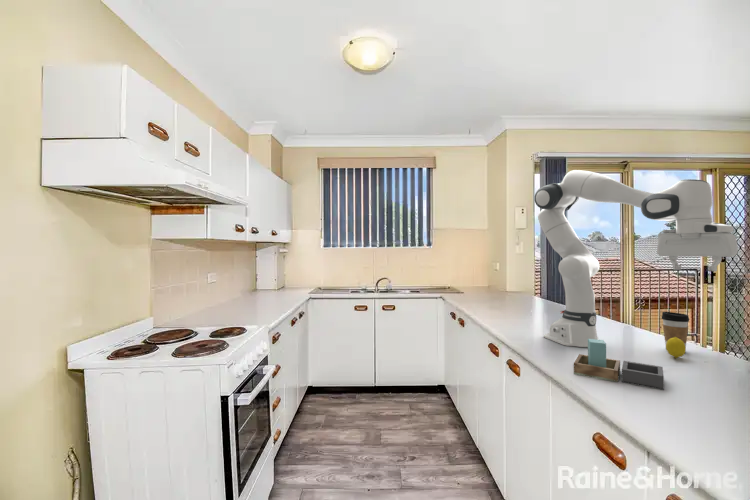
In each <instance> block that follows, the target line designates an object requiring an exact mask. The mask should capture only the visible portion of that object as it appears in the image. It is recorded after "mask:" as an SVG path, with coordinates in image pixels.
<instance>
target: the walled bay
mask: <svg viewBox="0 0 750 500" xmlns="http://www.w3.org/2000/svg"><path fill="white" fill-rule="evenodd" d="M620 373H621V360H619V359H613V358H607V357H606V368H604V367H598V366H593V365H588V354H582V353H579V354H578V356H577V357H576V359H575V361H574V362H573V375H577V376H578V375H579V376H583V377H588V378H594V379H598V380H599V379H600V380H604V381H609V382H615V383H618V382H619V377H620Z"/></svg>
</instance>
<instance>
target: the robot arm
mask: <svg viewBox="0 0 750 500" xmlns="http://www.w3.org/2000/svg"><path fill="white" fill-rule="evenodd" d="M533 196H534V197H533V200H534V203H535V205H536V206H537V207H538V208H539V209H541V210H540V211H539V213H537V214H538V215H537V218H538V219H537V220H538V222H539V226H540V228H541V230H542V232H543V233H544V235H545V237H546V239H547V240H548V242H549V245H550V246H551V248H552V249H553V250H554V252H555V253H557V254H558V255H559V256H560V257H561V258H562V259H561V260H560V261H559V263H558V272H559V274H560V276H561V278H562V279H561V280H562V284H563V288H564V295H565V309H564V310H560V311H559V312H560V314H562V316H561V318H559V319H558V320H556V321H555V322H552V323H551V324H550V327H549V331H548V333H545V334H543V338H545V339H547V340H549V341H553V342H555V343H557V344H560V345H563V346H567V347H580V348H588V339H597V340H599V336H598V333H597V332H598V331H597V326H596V324H597V311H596V301H595V300H596V299H595V298H596V297H595V295H596V294H595V291H594V289H593V285H592V281H591V278H592V277H593V276H595V275H596V274H597V273H598V272H599V270H600V262H599V260H598V259H597V258H596V257H595V256H594V255H593V254H592V252H591V251H590V250H589V248H587V246H586V245H585V244H584V242H583V241H582V240H581V239H580V238H579V237H578V235H577V233H576V231H575V230H574V228H573V227H572V225H571V224H570V222H569V220H568V219H567V216H565V212H566V211H567V212H568V211H569V210H570V209H571V208H572V207H573V206H574V205H575V204H576V203H577V202H578V201H579V199H583V200H585V201H589V202H596V203H605V204H606V203H609V204H611V203H612V204H624V205H629V206H633V207H636V208H639V209H640V211H641V214H642V215H643V216H644V217H645V218H646V219H649V220H652V221H653V220H654V221H660V222H667V223H675V229H663V230H662V231H660V232H659V233H658V234H657V240H658V241H657V248H656V253H657V255H658V256H660V257H668V260H669V261H670V262H671V264H672V268H673V269H672V270H677V271H678V270H679V271H680V270H681V271H682V264H681V263H679V262H678V261H677V260H678V258H679V257H704V258H705V257H709V258H710V257H711V260H712V261H713V262H712V263H711V265H707V271H708V272H717V271H718V266H719V265H720V263H721V262H722V260H723V258H724V257H725V258H732V257H733V258H734V257H735V256H736V255H737V254H738V251H739V247H738V240H737V237H736V236H735V234H734V233H733V232H734V226H733V225H729V224H725V223H724V224H723V223H719V222H714V221H713V214H712V211H711V210H712V208H713V207H712V206H713V195H712V187H711V185H710V183H709V182H708V181H706V180H703V179H686V178H685V179H681V180H678V181H677V182H676V183H675V184H673V185H672V186H670V187H668V188H666V189H664V190H660V191H658V192H655V193H653V192H649V191H645V190H641V189H637V188H634V187H631V186H629V185H626V184H624V183H622V182H620V181H618V180H616V179H614V178H612V177H609V176H607V175H604V174H602V173H598V172H594V171H589V170H583V169H582V170H580V169H578V170H577V169H573V170H570V171H569V172H567V173H566V174H565V176H563V179H562V180H561V181H560V183H556V182H554V183H550V184H546V185H544V186H542V187H540V188H538V189H537V190H536V191H535V193H534V195H533Z"/></svg>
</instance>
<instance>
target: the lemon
mask: <svg viewBox="0 0 750 500" xmlns="http://www.w3.org/2000/svg"><path fill="white" fill-rule="evenodd" d="M686 347H687V346H686ZM686 347H685V344H684V342H683V341H682V340H680V339H679V338H677V337H674V338H670V339H669V340H668V341H667V343H666V345H665V350H666V352H667V353H668V354H669V355H670V356H672V357H673V358H674V359H678V358H680V357H682V356H684V355H685V354H686V350H687V348H686Z"/></svg>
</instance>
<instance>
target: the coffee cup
mask: <svg viewBox="0 0 750 500" xmlns="http://www.w3.org/2000/svg"><path fill="white" fill-rule="evenodd" d="M661 319H662V328H663V336H664V337H663V338H664V343H665V344H664V345H665V346H666V343H667V341H668V340H669V339H670V338H674V337H677V338H679V339H680V340H682V341H683V342H684V344H685V347H687V341H688V340H687V339H688V332H689V326H688V324H689V322H690V318H689V315H688V314H686V313H680V312H673V311H662V313H661Z"/></svg>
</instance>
